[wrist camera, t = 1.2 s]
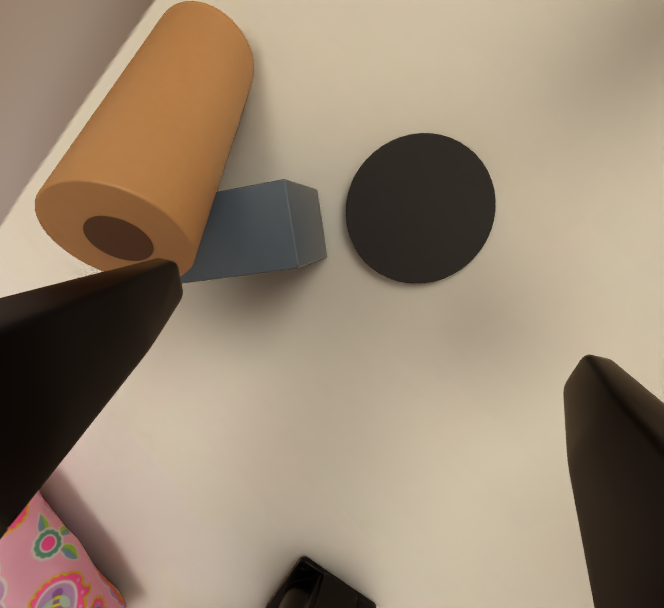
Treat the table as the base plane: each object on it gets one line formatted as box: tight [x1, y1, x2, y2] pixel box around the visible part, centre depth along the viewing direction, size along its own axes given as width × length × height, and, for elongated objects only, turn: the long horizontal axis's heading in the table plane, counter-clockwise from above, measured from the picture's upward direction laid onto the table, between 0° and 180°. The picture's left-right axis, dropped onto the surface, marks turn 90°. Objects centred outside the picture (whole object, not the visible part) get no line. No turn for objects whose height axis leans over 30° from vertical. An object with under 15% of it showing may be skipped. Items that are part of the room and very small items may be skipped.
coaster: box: [346, 133, 495, 283], centre depth 21 cm, size 8×8×1 cm
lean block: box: [180, 179, 327, 284], centre depth 21 cm, size 4×9×6 cm, turn 99°
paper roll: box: [35, 1, 254, 276], centre depth 16 cm, size 13×5×13 cm, turn 9°
